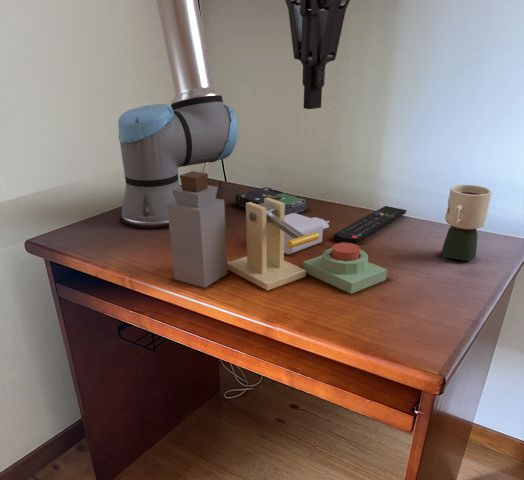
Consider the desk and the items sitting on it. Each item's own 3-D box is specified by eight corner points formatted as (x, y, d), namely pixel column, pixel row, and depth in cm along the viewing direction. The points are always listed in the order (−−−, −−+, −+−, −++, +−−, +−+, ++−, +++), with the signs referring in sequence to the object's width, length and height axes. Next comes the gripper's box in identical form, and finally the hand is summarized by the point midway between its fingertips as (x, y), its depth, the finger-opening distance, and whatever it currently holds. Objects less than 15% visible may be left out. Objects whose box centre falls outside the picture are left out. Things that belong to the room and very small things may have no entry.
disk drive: (234, 206, 134) (275, 219, 124) (234, 194, 132) (275, 207, 123) (266, 197, 140) (307, 210, 130) (266, 186, 138) (307, 198, 129)
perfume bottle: (204, 287, 94) (197, 182, 85) (174, 279, 97) (164, 176, 88) (227, 274, 99) (223, 172, 90) (197, 266, 102) (190, 167, 93)
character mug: (451, 245, 110) (463, 180, 104) (486, 253, 107) (501, 186, 100) (428, 261, 103) (439, 193, 96) (464, 271, 99) (478, 200, 93)
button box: (302, 271, 100) (303, 251, 98) (337, 259, 104) (338, 239, 102) (350, 294, 92) (352, 272, 90) (386, 279, 97) (388, 258, 94)
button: (325, 256, 97) (326, 246, 96) (344, 249, 99) (345, 240, 98) (345, 264, 93) (346, 254, 92) (364, 257, 96) (365, 248, 95)
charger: (341, 237, 115) (292, 256, 106) (309, 226, 120) (259, 243, 112) (343, 215, 112) (292, 232, 104) (310, 205, 118) (259, 221, 109)
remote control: (405, 215, 126) (406, 210, 126) (355, 246, 110) (355, 240, 109) (384, 211, 129) (385, 205, 128) (332, 241, 113) (332, 234, 112)
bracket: (306, 276, 98) (308, 206, 91) (267, 290, 93) (266, 217, 86) (264, 256, 106) (263, 190, 99) (226, 268, 101) (223, 200, 94)
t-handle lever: (318, 243, 90) (320, 230, 89) (290, 252, 87) (293, 239, 85) (272, 212, 97) (274, 200, 95) (245, 219, 94) (247, 207, 92)
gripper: (369, -68, 78) (355, 110, 91) (307, -60, 87) (302, 101, 100) (332, -72, 74) (323, 115, 87) (271, -63, 83) (271, 105, 96)
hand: (312, 107), depth 93 cm, fingers closed
